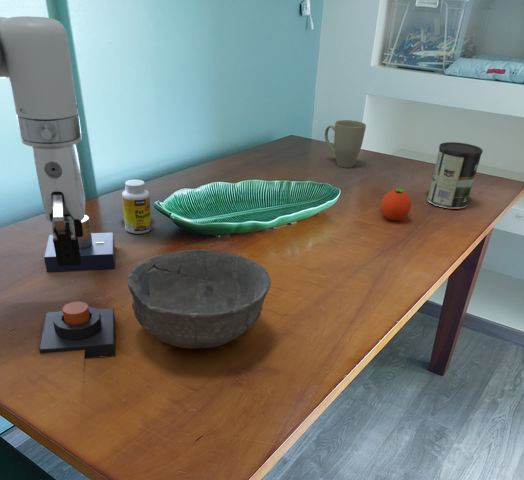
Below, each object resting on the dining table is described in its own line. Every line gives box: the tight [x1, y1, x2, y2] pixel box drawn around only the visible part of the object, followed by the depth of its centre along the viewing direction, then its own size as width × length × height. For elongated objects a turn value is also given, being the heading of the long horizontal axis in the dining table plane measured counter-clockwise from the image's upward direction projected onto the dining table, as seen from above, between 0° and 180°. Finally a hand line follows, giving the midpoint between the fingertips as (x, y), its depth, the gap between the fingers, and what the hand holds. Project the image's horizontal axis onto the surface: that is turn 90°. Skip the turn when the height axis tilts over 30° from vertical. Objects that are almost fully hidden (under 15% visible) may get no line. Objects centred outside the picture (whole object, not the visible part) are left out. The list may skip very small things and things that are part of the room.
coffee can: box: [426, 141, 484, 208], centre depth 135 cm, size 10×10×14 cm
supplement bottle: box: [121, 179, 152, 235], centre depth 112 cm, size 6×6×10 cm
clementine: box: [380, 188, 412, 221], centre depth 126 cm, size 8×7×7 cm
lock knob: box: [78, 214, 92, 249], centre depth 99 cm, size 4×4×5 cm
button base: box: [38, 306, 116, 359], centre depth 79 cm, size 10×10×4 cm
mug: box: [324, 119, 367, 169], centre depth 159 cm, size 11×10×12 cm
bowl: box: [127, 249, 272, 349], centre depth 81 cm, size 21×21×10 cm
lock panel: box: [43, 232, 116, 273], centre depth 101 cm, size 12×10×3 cm
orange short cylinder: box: [61, 301, 90, 325], centre depth 78 cm, size 4×4×2 cm
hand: (71, 249), depth 79 cm, fingers open, 9 cm apart
